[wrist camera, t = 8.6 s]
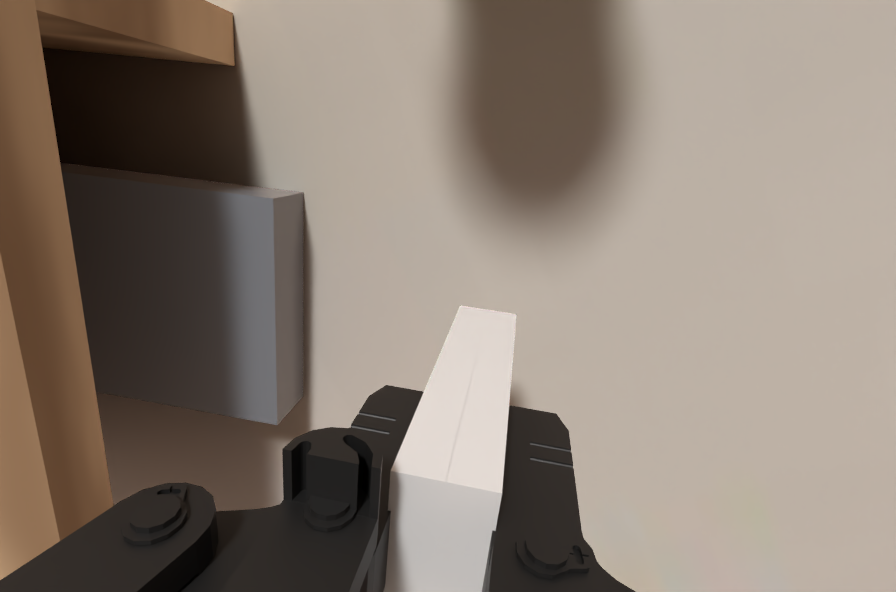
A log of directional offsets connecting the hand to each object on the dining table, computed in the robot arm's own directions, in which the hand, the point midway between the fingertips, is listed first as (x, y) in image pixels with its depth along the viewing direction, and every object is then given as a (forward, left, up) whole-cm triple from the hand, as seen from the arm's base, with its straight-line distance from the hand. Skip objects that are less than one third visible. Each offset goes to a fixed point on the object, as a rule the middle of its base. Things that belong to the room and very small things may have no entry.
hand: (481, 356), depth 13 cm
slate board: (+12, +1, -4) cm, 13 cm away
